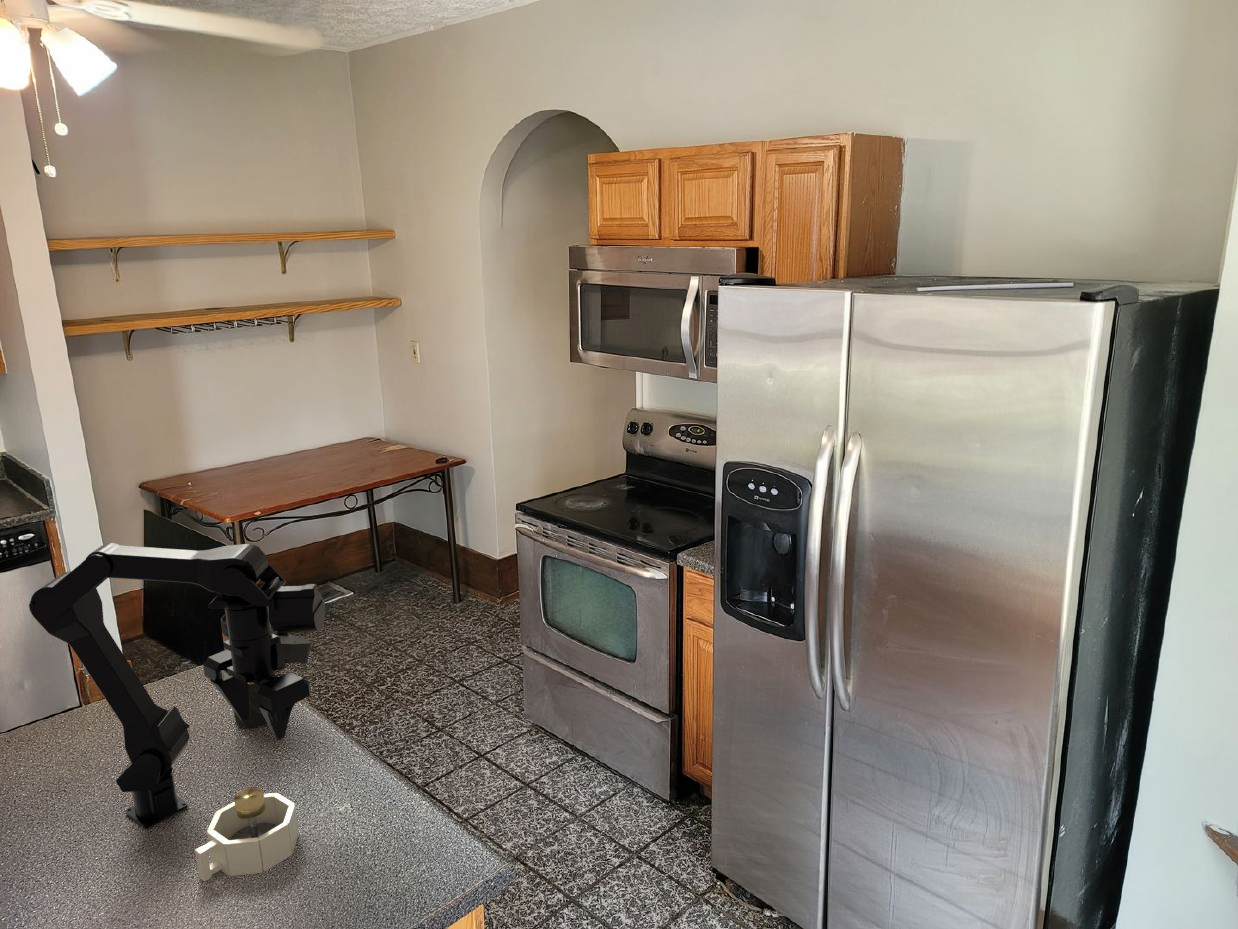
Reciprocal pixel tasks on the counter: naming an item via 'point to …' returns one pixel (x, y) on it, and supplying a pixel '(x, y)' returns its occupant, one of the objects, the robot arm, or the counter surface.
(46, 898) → the counter surface
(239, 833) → the plunger
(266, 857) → the cream octagonal ring
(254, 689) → the travel mug
